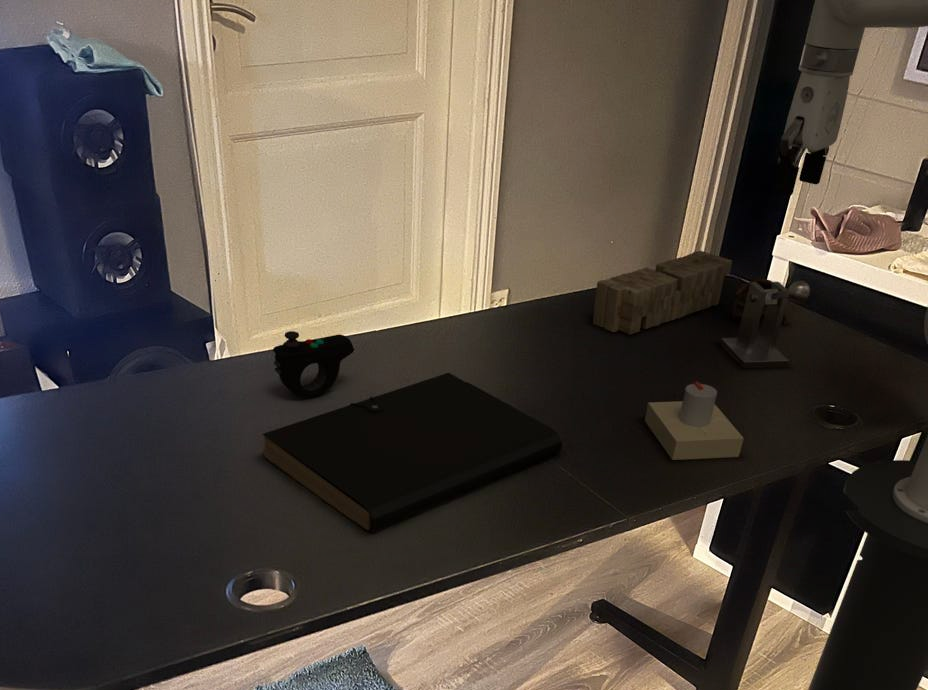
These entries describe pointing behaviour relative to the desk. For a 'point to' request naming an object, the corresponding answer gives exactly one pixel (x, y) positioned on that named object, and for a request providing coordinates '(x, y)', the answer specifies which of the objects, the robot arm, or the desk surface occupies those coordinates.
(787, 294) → the tap lever
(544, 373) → the desk surface
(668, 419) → the beige rectangular block
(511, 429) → the black hardcover book
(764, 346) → the bracket
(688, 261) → the block tower
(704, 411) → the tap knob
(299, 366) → the controller
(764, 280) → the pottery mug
